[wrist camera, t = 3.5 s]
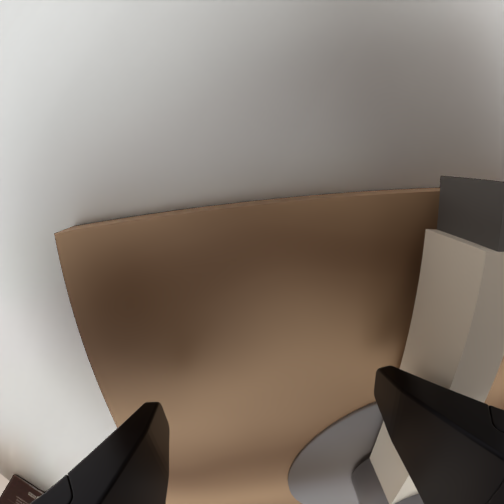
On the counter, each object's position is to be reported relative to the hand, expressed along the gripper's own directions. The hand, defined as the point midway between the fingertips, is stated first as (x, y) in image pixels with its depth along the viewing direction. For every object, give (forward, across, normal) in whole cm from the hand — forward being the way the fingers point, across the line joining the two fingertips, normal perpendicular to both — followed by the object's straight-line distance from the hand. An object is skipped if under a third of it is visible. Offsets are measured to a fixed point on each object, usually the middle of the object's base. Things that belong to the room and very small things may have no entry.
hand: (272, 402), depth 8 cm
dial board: (+2, -4, +5) cm, 7 cm away
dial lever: (+1, -5, +1) cm, 5 cm away
